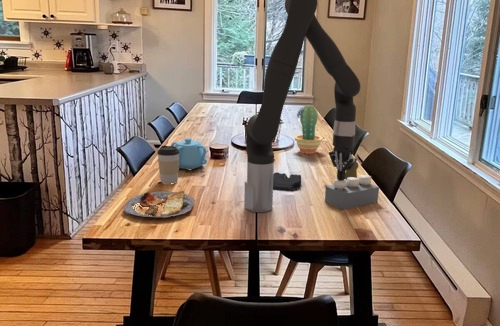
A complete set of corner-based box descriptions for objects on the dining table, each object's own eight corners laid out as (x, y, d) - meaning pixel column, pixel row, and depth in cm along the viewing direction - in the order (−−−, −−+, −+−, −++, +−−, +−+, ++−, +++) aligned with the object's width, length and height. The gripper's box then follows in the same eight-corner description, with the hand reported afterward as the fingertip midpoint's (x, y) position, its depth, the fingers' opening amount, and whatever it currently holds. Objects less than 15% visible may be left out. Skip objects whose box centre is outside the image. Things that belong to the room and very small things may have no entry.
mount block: (342, 209, 161) (343, 193, 159) (324, 201, 169) (325, 186, 168) (377, 202, 169) (379, 187, 168) (358, 194, 177) (360, 179, 176)
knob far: (363, 200, 169) (364, 179, 167) (354, 197, 173) (356, 176, 170) (371, 199, 171) (373, 177, 169) (363, 195, 175) (365, 174, 173)
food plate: (137, 194, 172) (137, 186, 171) (198, 197, 171) (198, 188, 170) (116, 222, 148) (116, 212, 147) (187, 225, 147) (187, 215, 146)
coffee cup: (184, 182, 188) (184, 147, 185) (167, 186, 182) (165, 150, 178) (171, 177, 194) (170, 143, 190) (153, 181, 188) (152, 146, 184)
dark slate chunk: (253, 177, 199) (254, 167, 197) (303, 182, 193) (304, 171, 192) (244, 187, 184) (244, 176, 183) (297, 193, 179) (298, 181, 178)
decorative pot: (170, 163, 217) (169, 135, 214) (203, 161, 220) (203, 134, 217) (171, 172, 202) (170, 143, 198) (207, 171, 205) (207, 141, 201)
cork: (346, 183, 191) (348, 158, 188) (360, 186, 187) (362, 161, 184) (339, 187, 186) (341, 161, 183) (353, 190, 183) (355, 163, 180)
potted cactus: (306, 147, 255) (308, 102, 248) (328, 152, 244) (331, 106, 237) (287, 151, 245) (289, 105, 238) (309, 156, 234) (312, 108, 227)
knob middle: (350, 203, 166) (352, 181, 164) (342, 199, 170) (344, 178, 168) (359, 201, 168) (361, 179, 166) (351, 197, 172) (353, 176, 170)
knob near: (338, 205, 163) (339, 182, 161) (330, 201, 167) (331, 179, 165) (347, 203, 165) (349, 180, 163) (339, 199, 169) (341, 177, 167)
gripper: (323, 130, 163) (321, 176, 168) (348, 137, 152) (345, 186, 156) (339, 128, 167) (336, 174, 171) (365, 135, 156) (361, 183, 160)
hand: (340, 180), depth 164 cm, fingers closed
